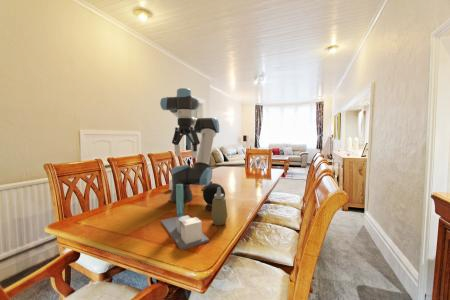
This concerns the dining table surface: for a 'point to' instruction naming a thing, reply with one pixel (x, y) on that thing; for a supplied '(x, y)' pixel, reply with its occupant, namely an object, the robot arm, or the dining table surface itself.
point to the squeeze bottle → (219, 208)
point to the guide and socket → (185, 231)
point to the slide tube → (179, 200)
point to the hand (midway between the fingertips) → (185, 157)
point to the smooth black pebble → (211, 194)
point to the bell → (206, 185)
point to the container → (170, 184)
